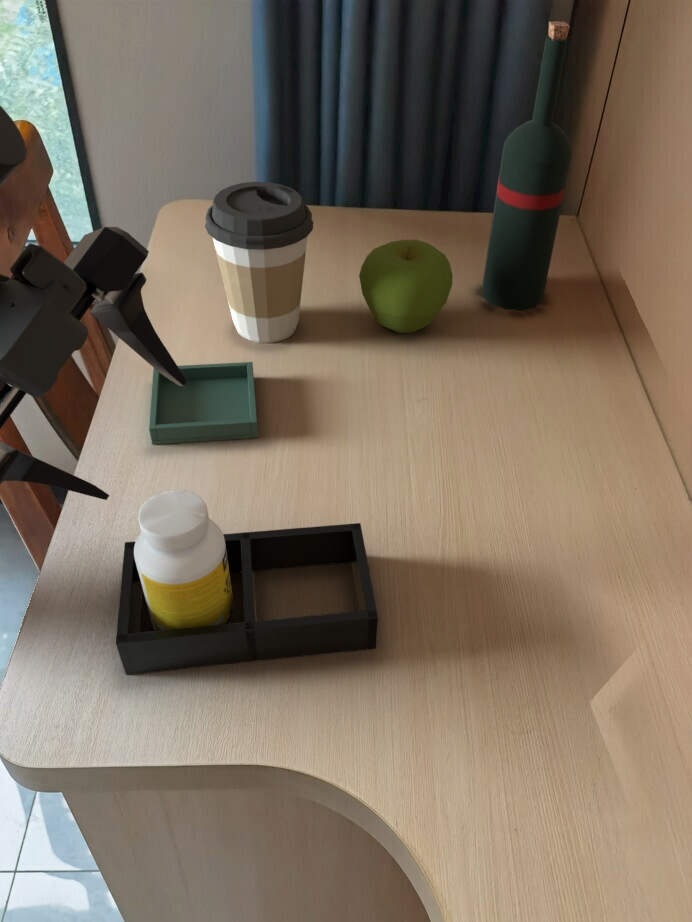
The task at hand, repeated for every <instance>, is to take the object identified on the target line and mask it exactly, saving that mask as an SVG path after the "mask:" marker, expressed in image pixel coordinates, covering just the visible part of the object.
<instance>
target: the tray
mask: <svg viewBox="0 0 692 922" xmlns="http://www.w3.org/2000/svg"><path fill="white" fill-rule="evenodd" d="M177 366H178V368H179V369H180V371H181V372H182V374H183V375H184V377H185V379H186V380H187V383H186V385H185V386H179V385H177V384H176V383H174V382H173V381H171V380H170V379H168V378H167V377H165V376H164V375H162V374H161V373H160V372H158V371H157V370H156V369H155V368H154V367H152V368H153V370H152V381H151V382H152V383H151V396H150V408H149V423H148V430H149V436H150V441H151V445H167V444H168V445H169V444H170V445H171V444H184V443H198V442H213V441H229V440H244V439H259V427H258V415H257V414H258V413H257V402H256V401H257V400H256V390H255V376H254V375H255V374H254V364H253V361H244V362H224V363H223V362H222V363H206V364H205V363H204V364H185V365H177Z"/></svg>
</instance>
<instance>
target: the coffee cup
mask: <svg viewBox="0 0 692 922" xmlns="http://www.w3.org/2000/svg"><path fill="white" fill-rule="evenodd" d="M204 228H205V230H206V231H207V234H208V236H210V237H211V238H212V242H213V245H214V249H215V254H216V257H217V262H218V265H219V270H220V274H221V279H222V282H223V286H224V290H225V295H226V299H227V302H228V306H229V310H230V314H231V319H232V322H233V325H234V327H235V329H236V331H237V334H238V335H240V336H241V337H242V338H243V339H245V340H247V341H250V342H254V343H258V344H272V343H277V342H281V341H284V340H287V339H288V338H290V337H291V336H293V335H294V333H295V332H296V330H297V325H298V324H299V319H300V311H301V301H302V300H301V299H302V291H303V283H304V282H303V281H304V274H305V273H304V272H305V263H306V254H307V246H308V245H307V244H308V237H309V235H310V234H311V233H312V232H313V230H314V220H313V212H312V211H311V210H310V208H309V207H308V205H307V204H305V203H304V199H303V197H302V195H301V193H299V192H297V191H296V190H295V189H293V188H292V187H290V186H287V185H283V184H281V183H276V182H270V181H248V182H240V183H236V184H232V185H230V186H227V187H225V188H223V189H221V190H219V192H217V193H216V194H215V195H214V196H213V200H212V204H211V206H209V208H208V209H207V212H206V215H205V225H204Z"/></svg>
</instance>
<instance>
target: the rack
mask: <svg viewBox="0 0 692 922" xmlns="http://www.w3.org/2000/svg"><path fill="white" fill-rule="evenodd" d="M362 529H363V528H362V524H361V522H355V523H344V524H333V525H331V524H330V525H319V526H307V527H305V526H304V527H294V528H293V527H292V528H282V529H271V530H269V529H268V530H258V531H247V532H237V533H236V532H233V533H223V536H224V539H225V544H226V551H227V559H228V567H229V574H237V573H238V574H239V573H241V584H242V586H241V587H242V603H243V605H242V606H243V607H242V608H243V622H233V623H230V624H221V625H211V626H201V627H191V628H180V629H170V630H160V631H155V630H152V631H142V632H141V631H140V630H141V617H142V616H141V615H142V603H143V601H142V599H143V588H142V584H141V580H140V577H139V573H138V570H137V566H136V563H135V558H134V546H135V542H136V540H135V541H134V540H133V541H125V542H124V546H123V547H124V548H123V557H122V569H121V578H120V580H121V582H120V589H119V601H118V611H117V624H116V634H115V646H116V649H117V653H118V655H119V659H120V662H121V664H122V665H121V666H122V668H123V671H124V673H125V675H126V676H128V675H138V674H146V673H147V674H148V673H156V672H166V671H177V670H184V669H194V668H202V667H203V668H205V667H214V666H223V665H230V664H241V663H243V664H244V663H251V662H260V661H270V660H281V659H288V658H289V659H290V658H297V657H298V658H299V657H309V656H310V657H311V656H319V655H328V654H337V653H348V652H357V651H366V650H367V651H368V650H376V649H377V643H378V631H379V630H378V629H379V613H378V608H377V602H376V598H375V592H374V588H373V582H372V577H371V571H370V566H369V560H368V555H367V551H366V545H365V539H364V533H363V530H362ZM349 563H350V564H351V570H352V575H353V581H354V586H355V592H356V597H357V598H356V599H357V604H358V610H356V611H355V610H354V611H345V612H334V613H326V614H325V613H324V614H314V615H303V616H295V617H293V616H292V617H285V618H274V619H273V618H272V619H265V620H257V619H258V617H257V602H256V601H257V599H256V585H255V572H259V571H272V570H281V569H282V570H283V569H293V568H294V569H295V568H304V567H305V568H306V567H317V566H327V565H328V566H329V565H339V564H349Z"/></svg>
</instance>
